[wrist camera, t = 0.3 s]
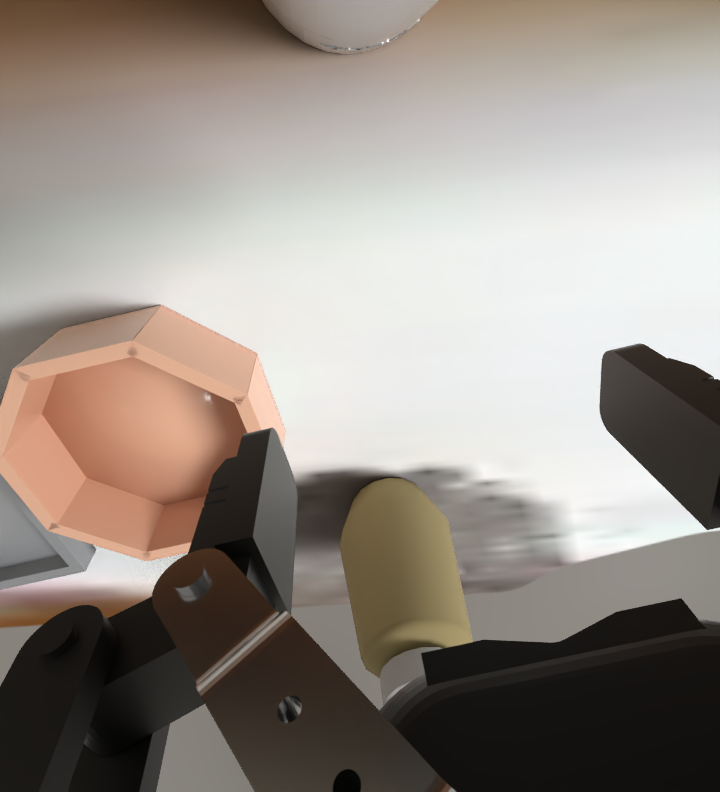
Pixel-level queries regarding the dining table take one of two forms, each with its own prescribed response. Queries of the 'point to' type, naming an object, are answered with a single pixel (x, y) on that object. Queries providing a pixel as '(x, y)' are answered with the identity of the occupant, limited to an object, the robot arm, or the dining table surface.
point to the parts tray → (34, 545)
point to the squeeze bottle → (401, 581)
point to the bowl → (129, 427)
